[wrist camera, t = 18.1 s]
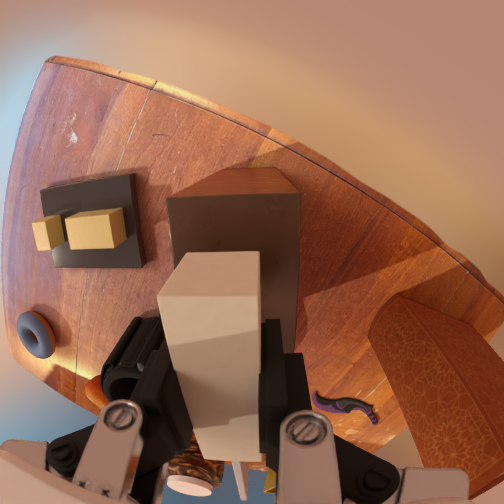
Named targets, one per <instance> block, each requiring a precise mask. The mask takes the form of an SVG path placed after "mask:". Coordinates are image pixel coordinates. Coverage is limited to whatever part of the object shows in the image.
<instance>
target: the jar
mask: <svg viewBox="0 0 504 504" xmlns="http://www.w3.org/2000/svg"><path fill="white" fill-rule="evenodd" d="M224 463H225V461H222V460H209V459H204V457H203V455H202V452H201V450H200V447H199V444H198V442H197V439H196V436H195V433H194V431H193V432H192V437H191V442H190V446H189V449H184V452H183V456H179V455H174V459H173V460H171V461H169V465H168V471H167V476H166V478H167V479H168V482H167V485H168V486H169V487H170V488H172V489H174V490H176V491H178V492H181V493H184V494H188V495H194V496H208V495H210V494H211V493H212V489H214V488H218V487H219V486H220V485H221V482H222V477H223V471H224Z"/></svg>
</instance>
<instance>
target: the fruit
mask: <svg viewBox="0 0 504 504" xmlns="http://www.w3.org/2000/svg"><path fill="white" fill-rule="evenodd" d="M100 376H101V375H98V376H95V377H94V378H92V379H91V380H90V381H89V382H88V383H87V384H86V386H85V391H86V395H87V397H88V399H89V400H90V401H92V402H93V403H94V404H96V405H97V406H98V408H100V409H103V408H104V407H105V406H106V405H107V404H108V403H110V402H109V401H108V399H107V398H106V396H105V394H104V393H103V391H102V388H101V385H100Z"/></svg>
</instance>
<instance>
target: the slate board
mask: <svg viewBox="0 0 504 504" xmlns="http://www.w3.org/2000/svg"><path fill="white" fill-rule="evenodd" d="M40 193H41V201H42V207H43V213H44V217H47V216H53V215H60V218H61V223H62V229H63V234H64V239H65V242H64V243H62V244H60V245H59V246H57V247H55V248H54V249H52V250H51V253H52V257H53V261H54V264H55V267H61V268H143V267H144V266H145V265H146V259H145V253H144V247H143V240H142V233H141V226H140V219H139V211H138V203H137V194H136V184H135V173H129V174H122V175H115V176H109V177H102V178H96V179H90V180H85V181H79V182H74V183H69V184H64V185H59V186H54V187H50V188H45V189H42V190H40ZM115 208H122V209H123V217H124V224H125V230H126V237H127V239H126V240H125V241H123V242H122V243H121V244H119V245H118V246H117V247H115V248H105V249H74V250H71V248H70V244H69V239H68V234H67V229H66V223H65V219H66V218H68V217H70V216H72V215H75V214H77V213H79V212H86V211H95V210H105V209H115Z"/></svg>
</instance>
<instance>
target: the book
mask: <svg viewBox="0 0 504 504" xmlns="http://www.w3.org/2000/svg"><path fill="white" fill-rule="evenodd" d="M368 339H369V341H370V343H371V345H372V347H373V349H374V351H375V353H376V355H377V357H378V359H379V361H380V363H381V365H382V368H383V370H384V372H385V374H386V376H387V378H388V381H389V383H390V385H391V387H392V389H393V392H394V394H395V396H396V398H397V401H398V403H399V405H400V408H401V410H402V412H403V415H404V417H405V419H406V422H407V424H408V427H409V429H410V432H411V434H412V437H413V439H414V442H415V444H416V447H417V449H418V452H419V455H420V457H421V460H422V463H423V465H424V468H458V469H462V470H463V471H465V472H466V474H467V475H468V477H469V494H468V499H469V500H472V499H473V498H475V497H477V496H479V495H481V494H482V493H484V492H486V491H488V490H489V489H491V488H492V487H494V486H496V485H497V484H499V483H500V482H502V481H503V480H504V362H503V361H502V359H501V358H500V357H499V356H498V355H497V354H496V352H495V351H494V350H493V349H492V348H491V346H490V345H489V344H488V343H487V342H486V341H485V340H484V338H483V337H482V336H481V335H480V334H479V333H478V332H477V331H476V330H475V329H474V327H473V326H472V325H470V324H468V323H465V322H463V321H461V320H458V319H456V318H453V317H451V316H449V315H446V314H444V313H442V312H439V311H437V310H435V309H432V308H430V307H427V306H425V305H423V304H420V303H418V302H415V301H413V300H411V299H408V298H406V297H403V296H401V295H398V294H395V295H394V296H393V297H392V298H391V299H390V300H388V301H387V302H386V303H385V304H384V306H383V307H382V308H381V309H380V311H379V312H378V314H377V315H376V317H375V318H374V320H373V322H372V324H371V327H370V330H369V334H368Z"/></svg>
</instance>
